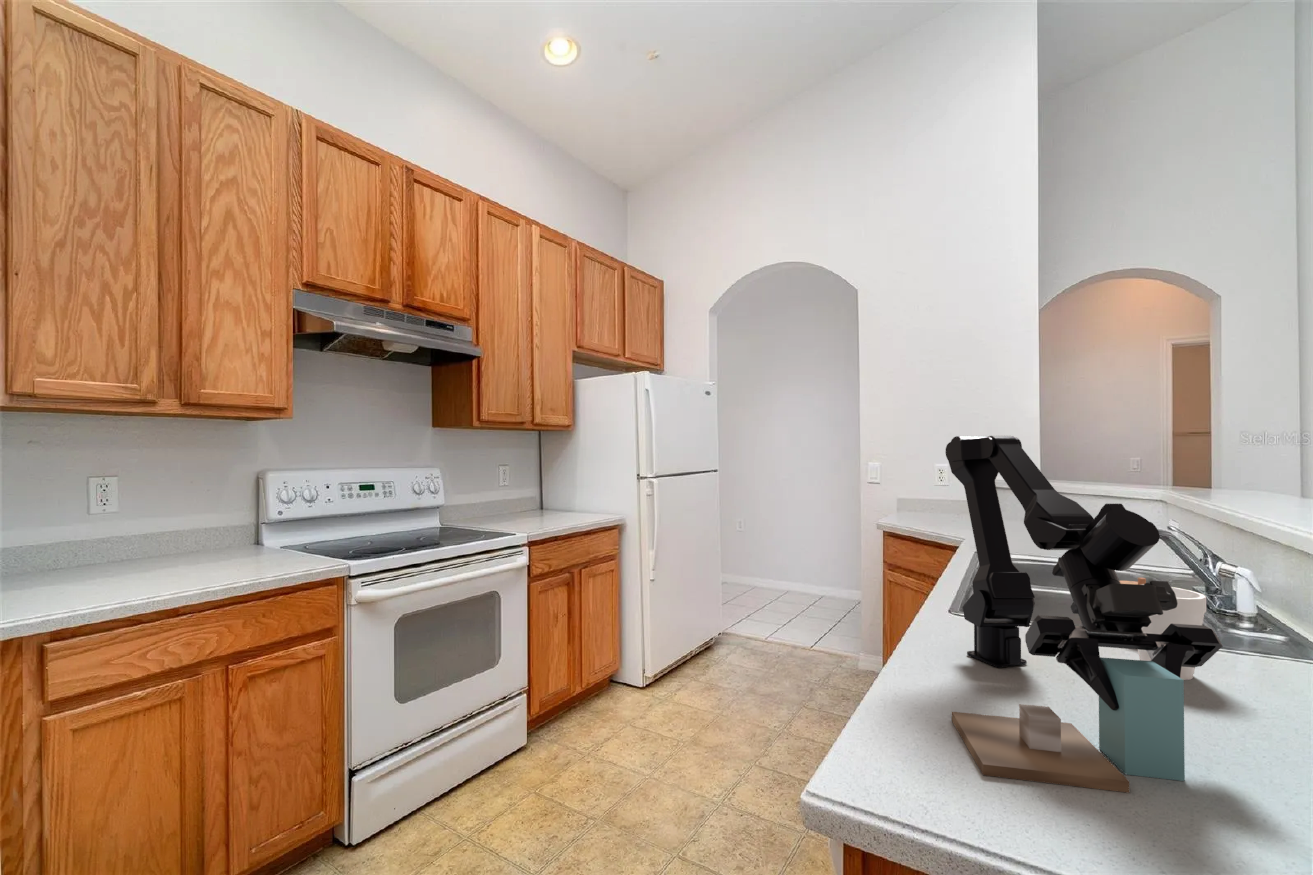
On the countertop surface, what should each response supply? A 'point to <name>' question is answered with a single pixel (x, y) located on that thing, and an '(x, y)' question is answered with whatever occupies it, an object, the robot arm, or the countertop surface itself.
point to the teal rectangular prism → (1144, 720)
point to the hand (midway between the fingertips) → (1146, 711)
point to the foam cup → (1178, 620)
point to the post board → (1036, 749)
